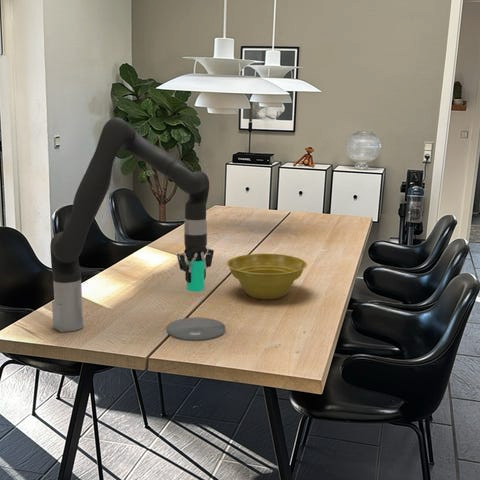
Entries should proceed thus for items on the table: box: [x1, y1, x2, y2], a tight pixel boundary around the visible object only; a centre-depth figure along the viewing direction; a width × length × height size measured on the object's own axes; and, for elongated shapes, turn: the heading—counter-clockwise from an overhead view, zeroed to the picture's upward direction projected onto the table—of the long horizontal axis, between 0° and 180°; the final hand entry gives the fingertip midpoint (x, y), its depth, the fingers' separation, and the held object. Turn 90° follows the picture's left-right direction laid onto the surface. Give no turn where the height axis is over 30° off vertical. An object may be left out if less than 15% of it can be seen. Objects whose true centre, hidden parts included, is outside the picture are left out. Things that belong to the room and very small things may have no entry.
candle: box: [186, 260, 205, 293], centre depth 226 cm, size 6×6×12 cm
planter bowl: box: [226, 253, 308, 300], centre depth 271 cm, size 32×32×13 cm
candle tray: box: [166, 317, 226, 342], centre depth 230 cm, size 20×20×1 cm
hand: (195, 280), depth 227 cm, fingers closed on candle, 4 cm apart
